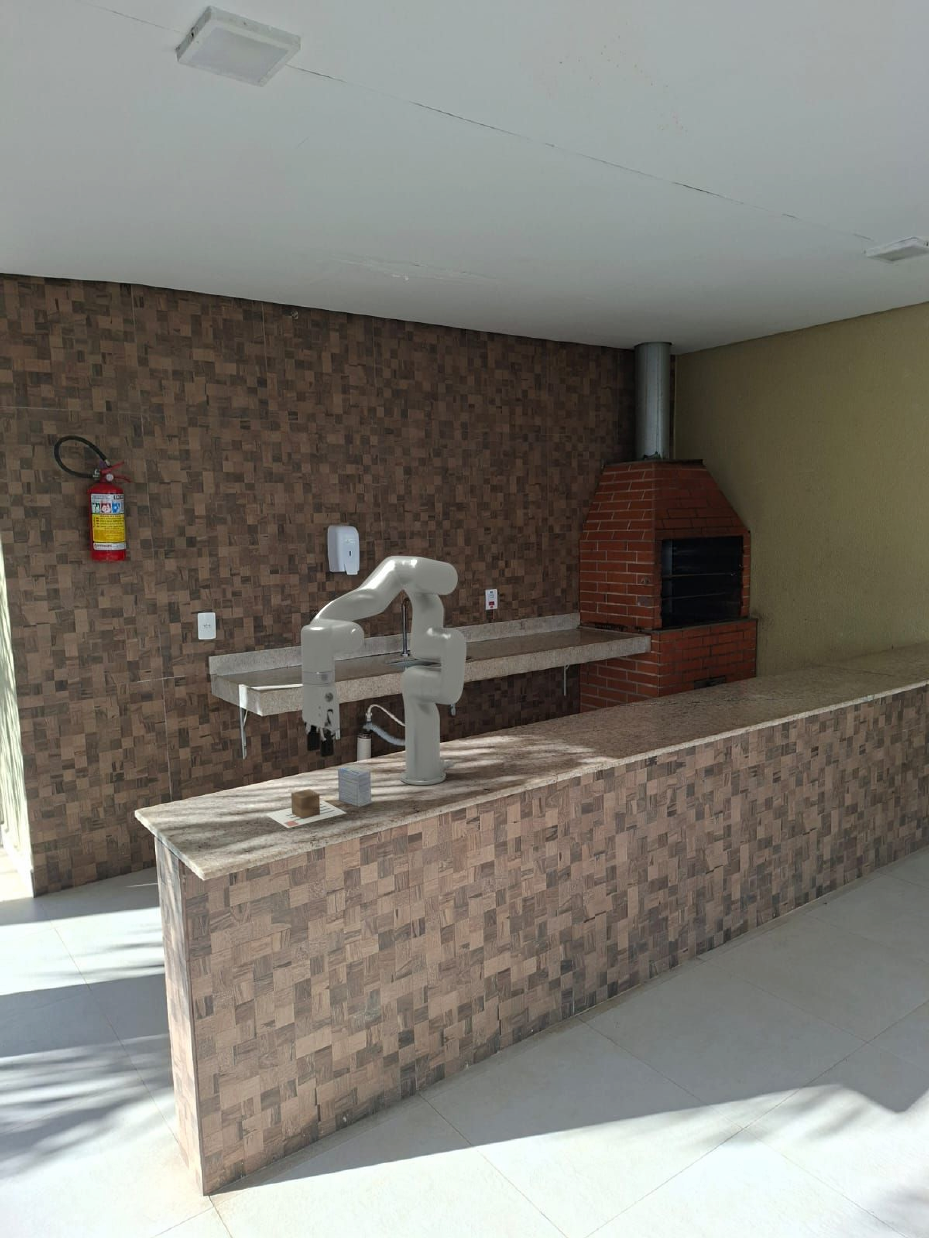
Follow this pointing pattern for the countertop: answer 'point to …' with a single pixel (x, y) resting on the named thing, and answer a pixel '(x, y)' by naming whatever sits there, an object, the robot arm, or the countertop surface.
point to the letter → (292, 820)
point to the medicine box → (354, 786)
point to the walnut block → (305, 803)
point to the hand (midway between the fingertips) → (320, 752)
